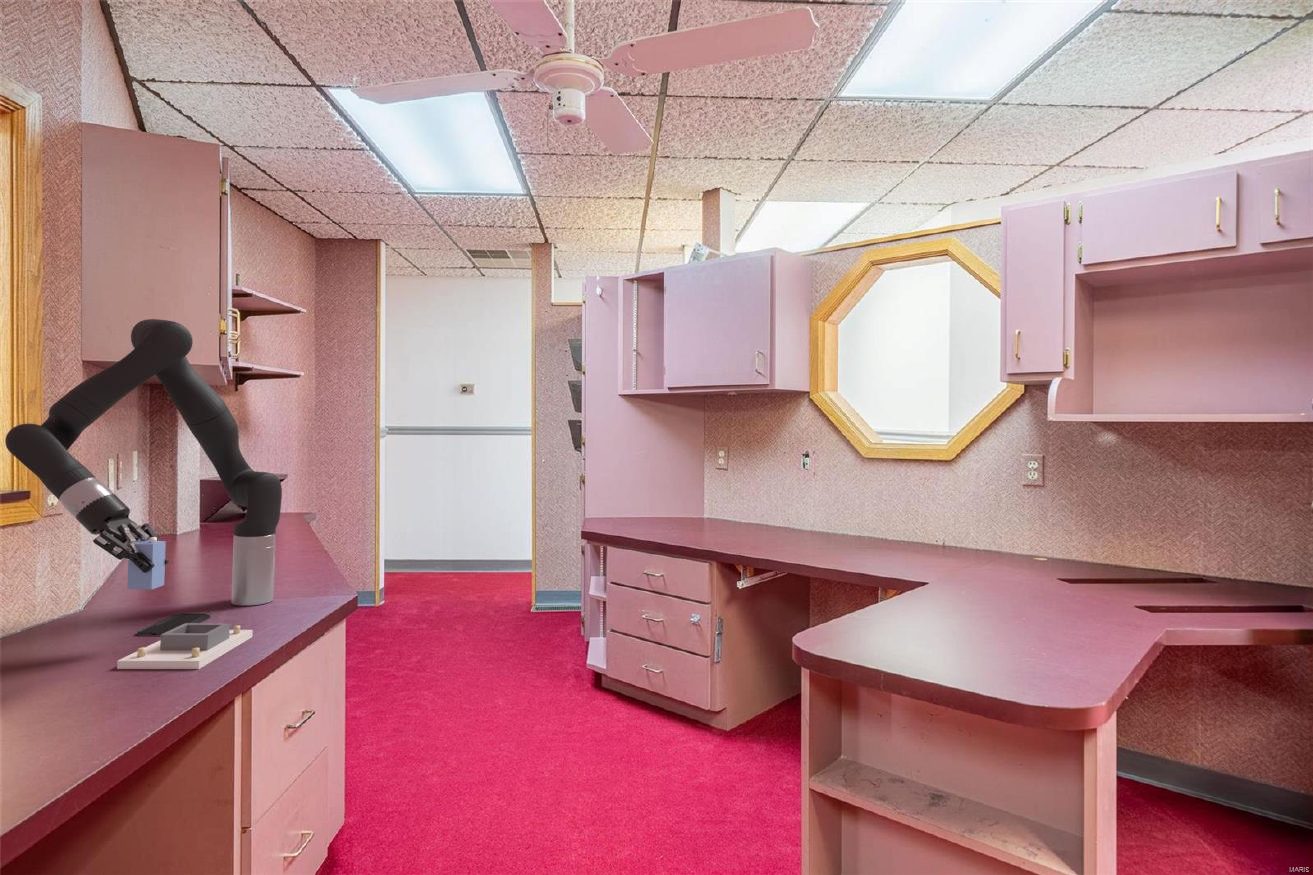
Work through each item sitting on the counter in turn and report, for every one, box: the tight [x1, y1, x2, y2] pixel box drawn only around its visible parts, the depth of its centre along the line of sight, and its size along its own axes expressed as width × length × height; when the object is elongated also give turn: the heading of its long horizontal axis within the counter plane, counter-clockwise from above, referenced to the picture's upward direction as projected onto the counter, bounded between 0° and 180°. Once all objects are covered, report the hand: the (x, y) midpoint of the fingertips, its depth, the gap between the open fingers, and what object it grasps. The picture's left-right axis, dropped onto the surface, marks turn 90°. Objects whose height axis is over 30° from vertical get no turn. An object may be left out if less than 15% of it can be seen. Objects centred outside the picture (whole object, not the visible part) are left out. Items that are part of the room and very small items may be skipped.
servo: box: [126, 536, 167, 590], centre depth 136 cm, size 4×4×10 cm
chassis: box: [116, 622, 254, 670], centre depth 134 cm, size 20×14×4 cm
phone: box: [136, 613, 211, 637], centre depth 151 cm, size 8×1×15 cm
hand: (157, 567), depth 137 cm, fingers closed on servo, 4 cm apart
